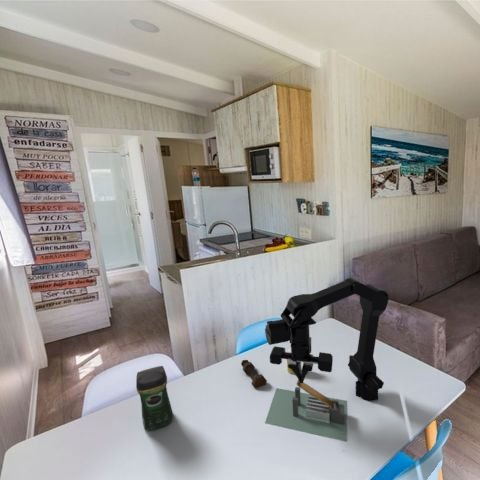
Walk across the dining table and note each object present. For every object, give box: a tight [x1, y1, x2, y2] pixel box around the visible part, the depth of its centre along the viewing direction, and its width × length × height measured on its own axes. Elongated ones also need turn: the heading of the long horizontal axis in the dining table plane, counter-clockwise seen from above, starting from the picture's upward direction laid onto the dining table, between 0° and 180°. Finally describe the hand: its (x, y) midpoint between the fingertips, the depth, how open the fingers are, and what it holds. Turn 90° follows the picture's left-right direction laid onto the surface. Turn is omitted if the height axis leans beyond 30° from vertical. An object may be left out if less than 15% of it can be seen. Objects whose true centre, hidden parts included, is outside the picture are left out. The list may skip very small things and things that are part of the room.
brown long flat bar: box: [296, 379, 337, 409], centre depth 92 cm, size 14×3×1 cm
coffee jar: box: [135, 365, 174, 432], centre depth 95 cm, size 10×8×19 cm
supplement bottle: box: [286, 347, 302, 376], centre depth 114 cm, size 5×5×10 cm
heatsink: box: [306, 395, 331, 425], centre depth 93 cm, size 7×7×3 cm
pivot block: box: [331, 400, 344, 425], centre depth 90 cm, size 4×4×4 cm
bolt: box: [240, 359, 268, 389], centre depth 114 cm, size 6×5×15 cm
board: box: [264, 387, 348, 442], centre depth 94 cm, size 24×16×1 cm, turn 70°
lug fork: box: [292, 386, 301, 417], centre depth 95 cm, size 2×6×6 cm, turn 160°
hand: (301, 382), depth 93 cm, fingers closed
